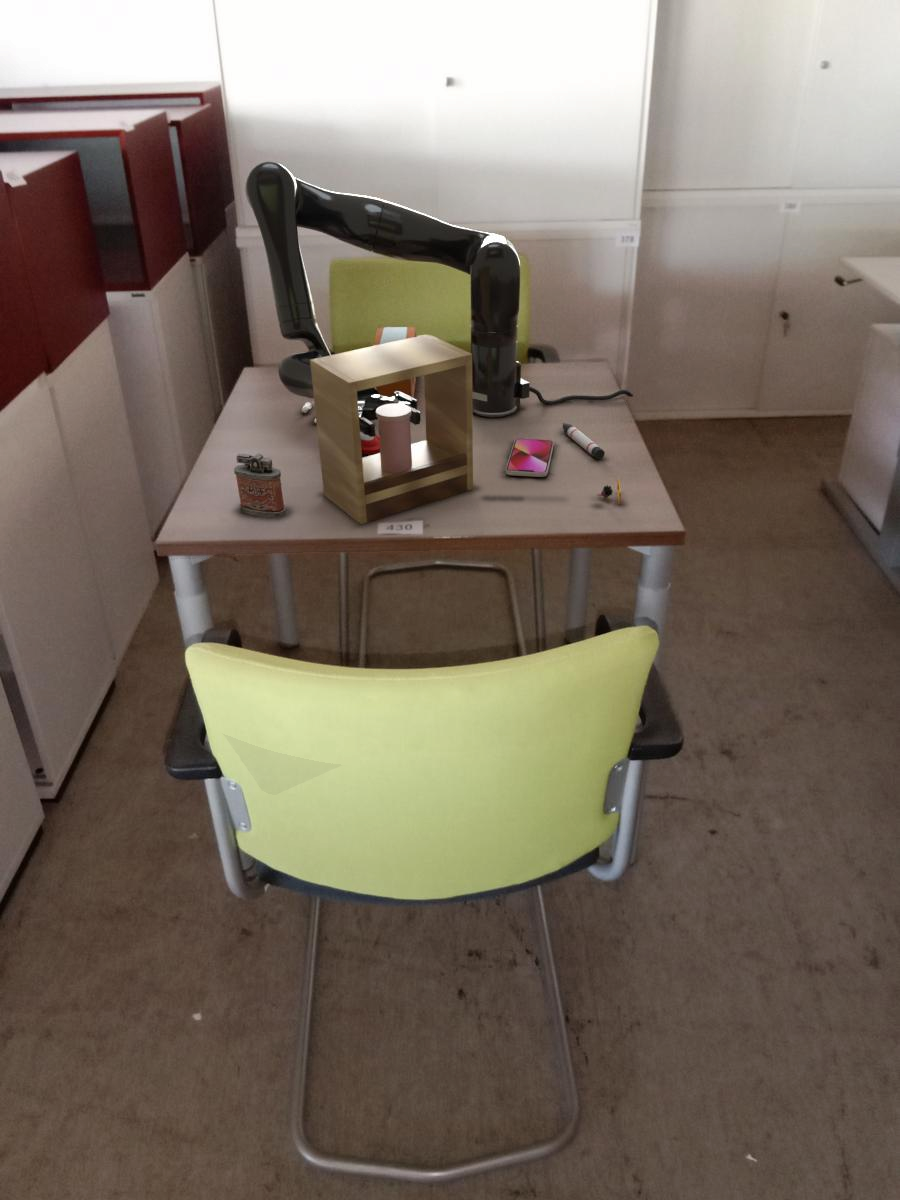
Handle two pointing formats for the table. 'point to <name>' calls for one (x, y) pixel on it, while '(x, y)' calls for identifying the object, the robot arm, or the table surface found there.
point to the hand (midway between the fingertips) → (396, 424)
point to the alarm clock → (393, 335)
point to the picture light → (307, 408)
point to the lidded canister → (394, 437)
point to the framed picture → (610, 491)
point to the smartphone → (530, 457)
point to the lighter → (259, 486)
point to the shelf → (435, 461)
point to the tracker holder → (369, 444)
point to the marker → (583, 441)
